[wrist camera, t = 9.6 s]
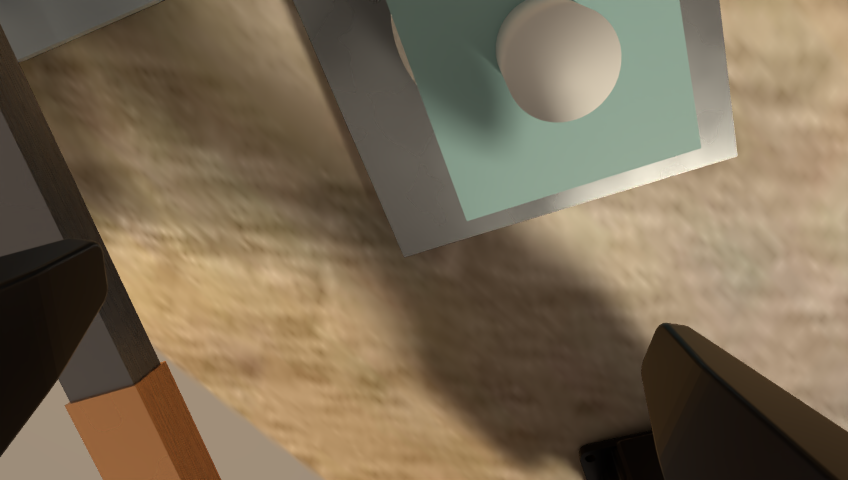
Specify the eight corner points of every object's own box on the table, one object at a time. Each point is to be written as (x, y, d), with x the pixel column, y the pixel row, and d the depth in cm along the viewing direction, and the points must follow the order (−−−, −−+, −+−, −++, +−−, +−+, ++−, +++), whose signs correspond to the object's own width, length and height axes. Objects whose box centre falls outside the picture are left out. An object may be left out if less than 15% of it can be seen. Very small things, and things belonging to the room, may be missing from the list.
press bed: (712, 138, 21) (740, 158, 19) (407, 233, 23) (403, 259, 21) (645, -352, 15) (676, -398, 13) (242, -159, 17) (215, -173, 15)
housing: (611, 77, 18) (748, 185, 10) (459, 129, 19) (470, 267, 11) (565, -137, 15) (701, -233, 7) (393, -64, 16) (340, -77, 8)
